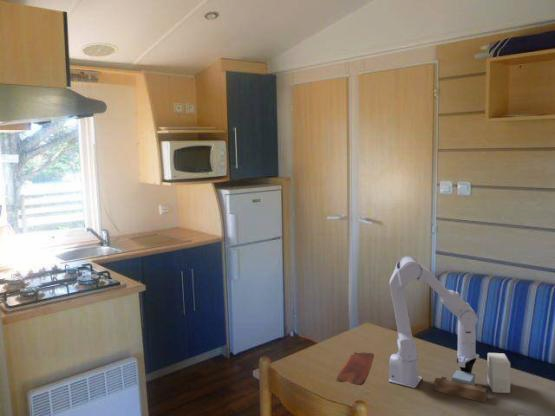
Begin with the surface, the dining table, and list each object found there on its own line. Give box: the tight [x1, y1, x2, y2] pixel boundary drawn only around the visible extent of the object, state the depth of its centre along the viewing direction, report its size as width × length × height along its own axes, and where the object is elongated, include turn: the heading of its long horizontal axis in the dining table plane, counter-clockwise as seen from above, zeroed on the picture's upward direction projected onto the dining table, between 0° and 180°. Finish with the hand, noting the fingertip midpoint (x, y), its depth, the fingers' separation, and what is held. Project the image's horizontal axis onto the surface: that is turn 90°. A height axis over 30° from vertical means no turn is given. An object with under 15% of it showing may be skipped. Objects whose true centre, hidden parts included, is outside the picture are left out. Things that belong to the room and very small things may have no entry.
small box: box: [486, 352, 511, 394], centre depth 165 cm, size 8×6×10 cm
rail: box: [433, 376, 487, 403], centre depth 163 cm, size 16×4×4 cm, turn 56°
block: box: [451, 369, 476, 386], centre depth 166 cm, size 6×6×4 cm
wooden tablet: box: [336, 352, 375, 386], centre depth 185 cm, size 27×10×2 cm, turn 158°
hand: (466, 378), depth 170 cm, fingers closed
